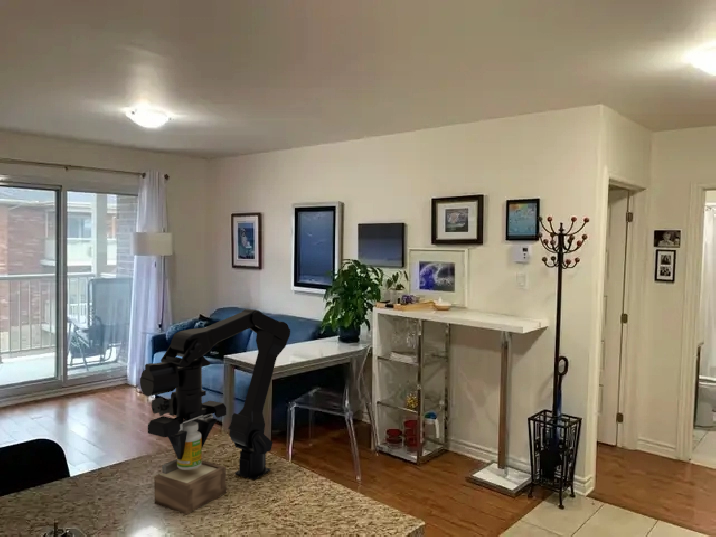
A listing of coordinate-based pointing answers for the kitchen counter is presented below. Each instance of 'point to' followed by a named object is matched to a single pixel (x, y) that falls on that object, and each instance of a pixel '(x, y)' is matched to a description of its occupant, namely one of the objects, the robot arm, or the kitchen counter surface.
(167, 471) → the lid
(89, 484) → the kitchen counter surface
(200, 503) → the box
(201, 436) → the robot arm
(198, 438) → the supplement bottle
